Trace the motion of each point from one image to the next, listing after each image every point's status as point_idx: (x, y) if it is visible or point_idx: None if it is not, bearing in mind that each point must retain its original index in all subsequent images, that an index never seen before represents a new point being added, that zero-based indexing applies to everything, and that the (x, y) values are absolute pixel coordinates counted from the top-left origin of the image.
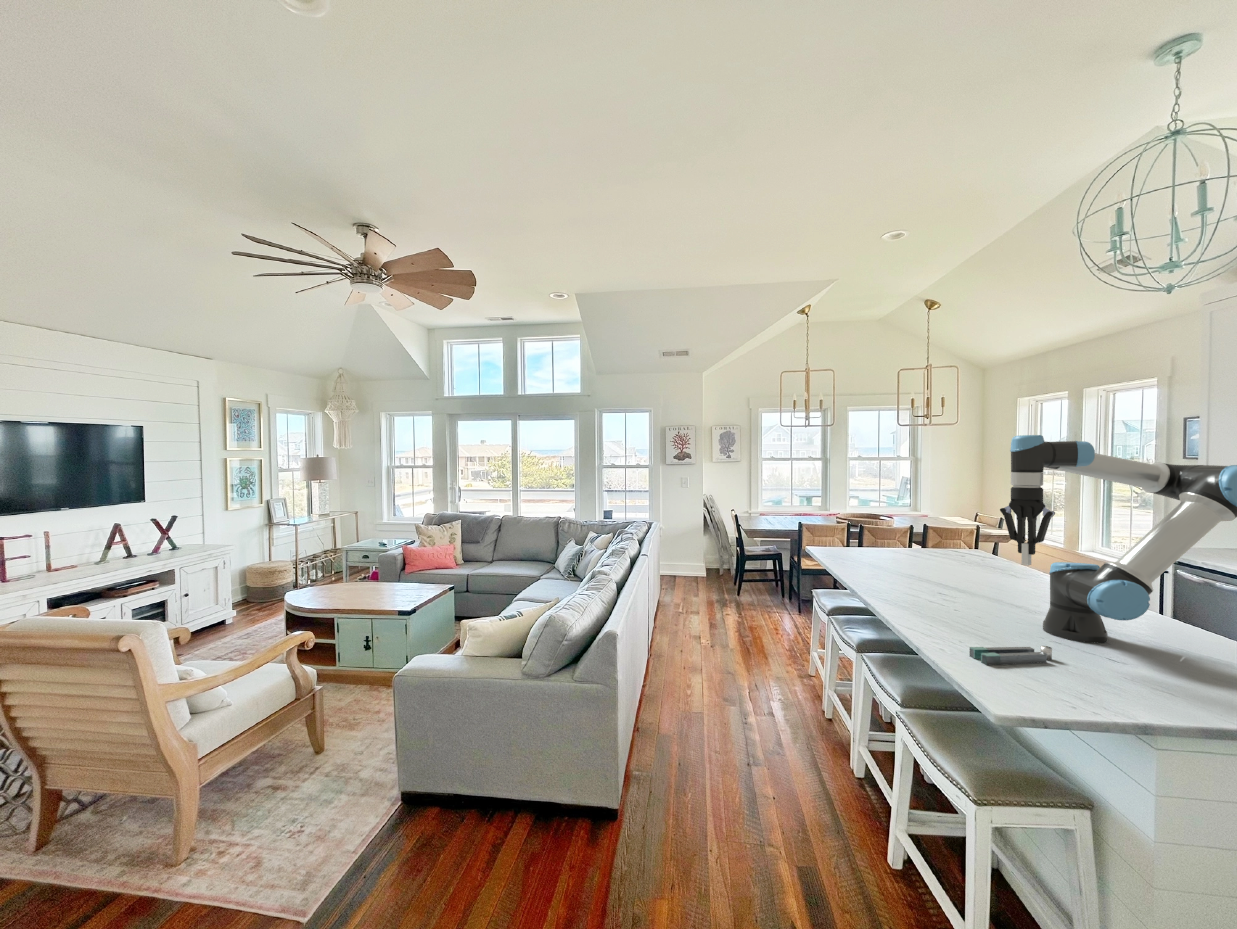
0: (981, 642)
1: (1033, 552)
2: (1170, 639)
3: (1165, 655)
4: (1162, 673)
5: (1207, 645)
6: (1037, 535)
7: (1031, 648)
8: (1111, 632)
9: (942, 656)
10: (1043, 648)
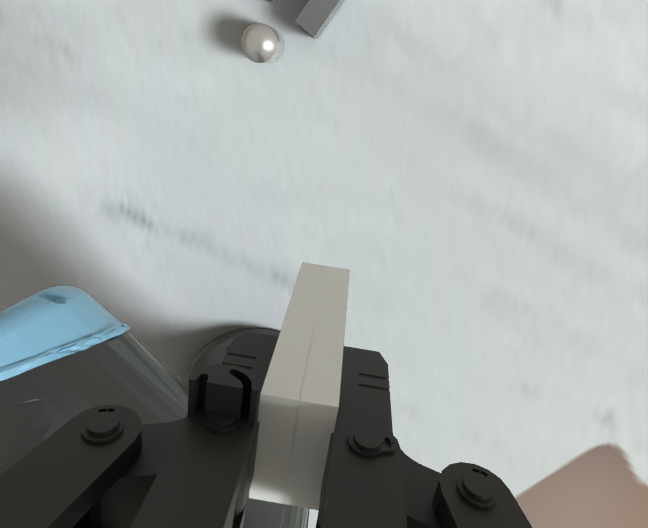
0: (481, 67)
1: (231, 346)
2: None
3: None
4: (26, 193)
5: None
6: (55, 508)
7: (303, 18)
8: None
9: None
10: (264, 25)
